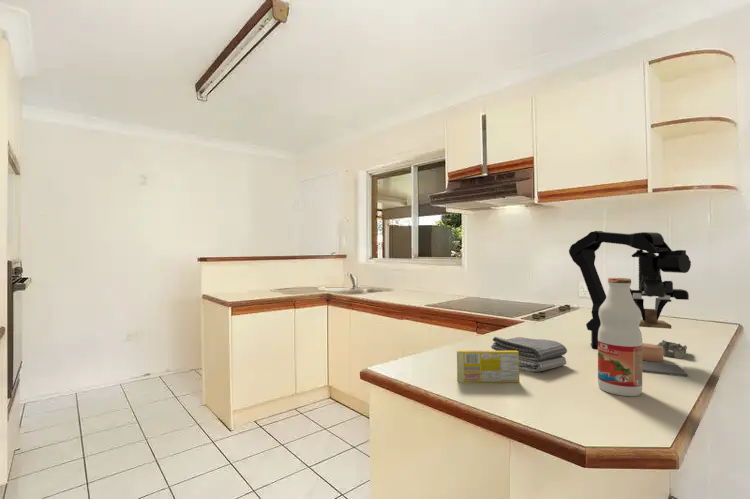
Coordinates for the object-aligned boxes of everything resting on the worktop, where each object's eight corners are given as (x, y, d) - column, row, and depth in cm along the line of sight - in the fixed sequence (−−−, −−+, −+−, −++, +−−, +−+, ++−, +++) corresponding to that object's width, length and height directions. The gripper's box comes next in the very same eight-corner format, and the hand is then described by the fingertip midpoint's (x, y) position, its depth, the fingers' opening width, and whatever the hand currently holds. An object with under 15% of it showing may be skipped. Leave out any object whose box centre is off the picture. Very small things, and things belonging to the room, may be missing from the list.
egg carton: (682, 360, 124) (682, 347, 124) (654, 355, 130) (654, 343, 130) (689, 354, 131) (689, 342, 131) (662, 349, 137) (662, 338, 137)
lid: (636, 326, 121) (636, 310, 121) (630, 321, 129) (630, 306, 129) (671, 328, 117) (671, 312, 117) (663, 323, 126) (662, 308, 126)
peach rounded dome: (635, 360, 123) (635, 347, 123) (630, 354, 130) (630, 342, 130) (666, 363, 120) (666, 350, 120) (659, 356, 127) (659, 344, 127)
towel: (540, 376, 108) (540, 348, 108) (487, 361, 123) (487, 336, 123) (568, 366, 117) (568, 340, 117) (515, 353, 132) (515, 330, 132)
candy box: (517, 380, 104) (517, 350, 104) (519, 383, 102) (519, 352, 102) (456, 380, 104) (456, 349, 104) (458, 382, 102) (458, 351, 102)
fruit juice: (652, 396, 92) (652, 279, 92) (615, 398, 91) (615, 279, 92) (623, 383, 102) (623, 277, 102) (589, 384, 101) (589, 277, 101)
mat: (640, 371, 111) (640, 369, 111) (633, 362, 121) (633, 360, 121) (688, 376, 107) (688, 374, 107) (677, 366, 116) (677, 364, 116)
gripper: (619, 272, 120) (620, 322, 120) (694, 273, 112) (695, 327, 112) (613, 270, 130) (614, 317, 130) (682, 271, 122) (682, 320, 122)
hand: (649, 320), depth 123 cm, fingers closed on lid, 3 cm apart
